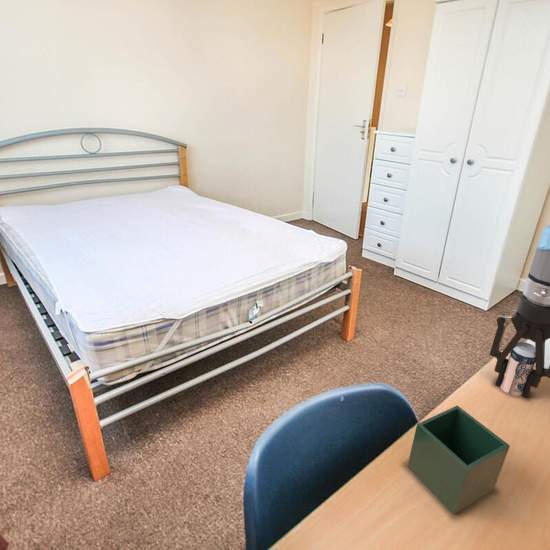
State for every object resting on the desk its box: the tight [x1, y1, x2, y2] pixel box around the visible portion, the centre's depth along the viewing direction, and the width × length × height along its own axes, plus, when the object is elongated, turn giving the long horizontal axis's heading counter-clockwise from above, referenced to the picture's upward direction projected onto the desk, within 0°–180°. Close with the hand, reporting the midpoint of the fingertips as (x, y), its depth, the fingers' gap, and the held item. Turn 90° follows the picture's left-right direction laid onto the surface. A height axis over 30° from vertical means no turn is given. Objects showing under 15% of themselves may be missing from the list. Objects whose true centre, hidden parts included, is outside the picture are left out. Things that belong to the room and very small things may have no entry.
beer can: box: [499, 341, 536, 397], centre depth 85 cm, size 5×5×12 cm
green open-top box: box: [407, 405, 511, 515], centre depth 64 cm, size 10×10×11 cm
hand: (511, 389), depth 87 cm, fingers closed on beer can, 5 cm apart
